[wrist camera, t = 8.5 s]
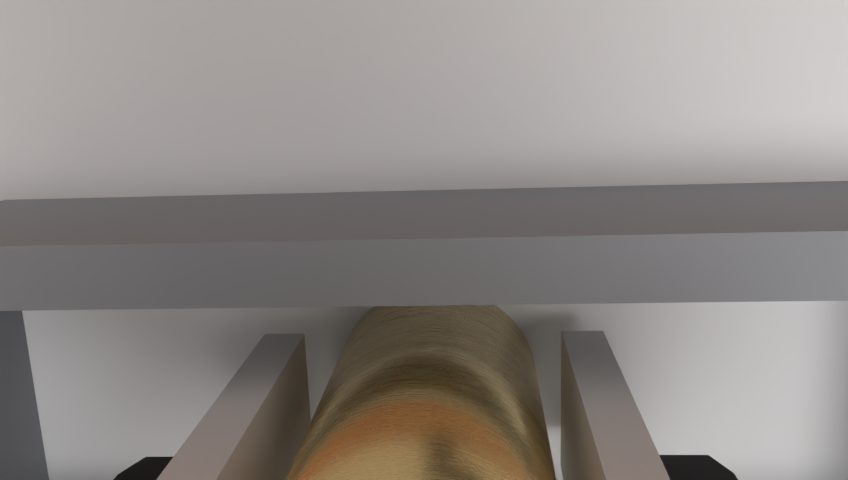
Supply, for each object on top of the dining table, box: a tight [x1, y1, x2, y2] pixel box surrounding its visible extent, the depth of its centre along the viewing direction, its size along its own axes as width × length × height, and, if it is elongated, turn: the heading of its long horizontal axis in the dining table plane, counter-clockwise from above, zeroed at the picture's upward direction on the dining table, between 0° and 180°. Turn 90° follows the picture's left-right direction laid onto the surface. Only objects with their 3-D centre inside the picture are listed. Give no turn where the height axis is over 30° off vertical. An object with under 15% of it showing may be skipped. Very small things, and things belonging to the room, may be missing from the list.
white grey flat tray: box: [0, 0, 848, 480], centre depth 15 cm, size 16×23×5 cm
